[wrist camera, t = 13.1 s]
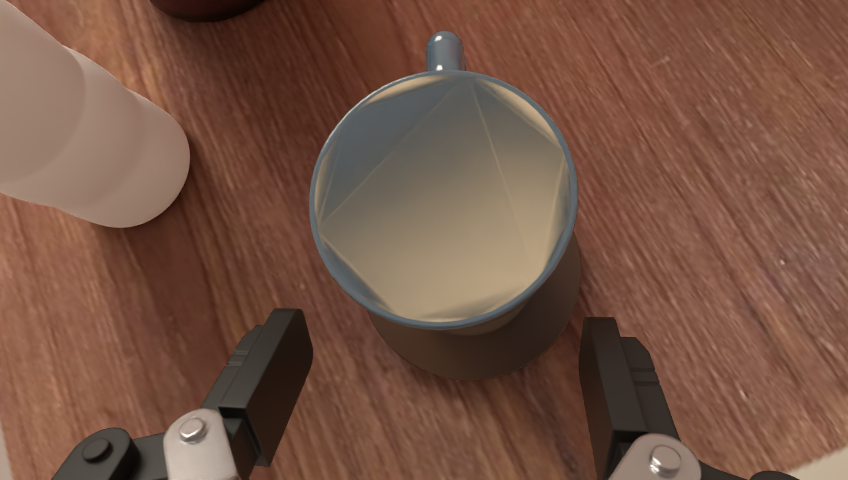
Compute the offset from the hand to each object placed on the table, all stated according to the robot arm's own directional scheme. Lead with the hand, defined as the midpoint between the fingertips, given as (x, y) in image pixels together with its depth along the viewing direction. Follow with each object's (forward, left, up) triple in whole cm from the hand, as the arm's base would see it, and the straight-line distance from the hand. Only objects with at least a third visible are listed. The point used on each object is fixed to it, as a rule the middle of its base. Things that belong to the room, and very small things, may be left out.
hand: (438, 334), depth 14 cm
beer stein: (+3, +3, -8) cm, 9 cm away
